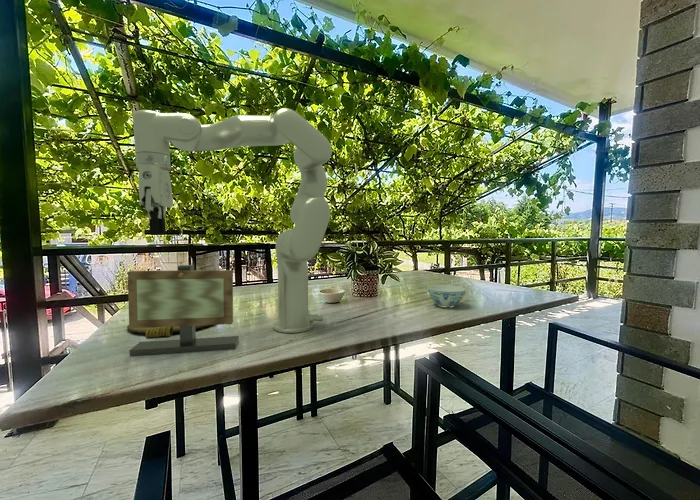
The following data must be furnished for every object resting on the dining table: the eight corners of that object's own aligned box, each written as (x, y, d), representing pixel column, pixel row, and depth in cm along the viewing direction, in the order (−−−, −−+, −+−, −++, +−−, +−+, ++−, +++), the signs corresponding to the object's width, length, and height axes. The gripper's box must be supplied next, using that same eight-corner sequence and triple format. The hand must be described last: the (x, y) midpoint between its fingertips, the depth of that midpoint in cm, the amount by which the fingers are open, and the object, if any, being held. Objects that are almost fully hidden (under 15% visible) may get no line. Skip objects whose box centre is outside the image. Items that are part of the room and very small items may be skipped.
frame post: (238, 341, 89) (237, 263, 88) (235, 348, 83) (233, 266, 82) (140, 347, 84) (137, 265, 83) (129, 356, 78) (126, 268, 77)
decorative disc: (228, 305, 125) (217, 323, 96) (228, 314, 125) (217, 334, 96) (145, 310, 117) (107, 331, 88) (145, 319, 117) (107, 343, 88)
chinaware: (471, 311, 124) (471, 291, 123) (432, 310, 124) (433, 291, 123) (458, 302, 139) (458, 284, 138) (424, 302, 139) (424, 284, 138)
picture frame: (233, 321, 84) (232, 269, 84) (231, 324, 82) (231, 270, 81) (132, 325, 80) (131, 270, 79) (128, 328, 77) (127, 271, 77)
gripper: (159, 156, 74) (163, 234, 76) (178, 168, 89) (182, 233, 90) (122, 155, 73) (128, 235, 74) (148, 167, 87) (153, 234, 88)
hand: (158, 234), depth 82 cm, fingers closed
